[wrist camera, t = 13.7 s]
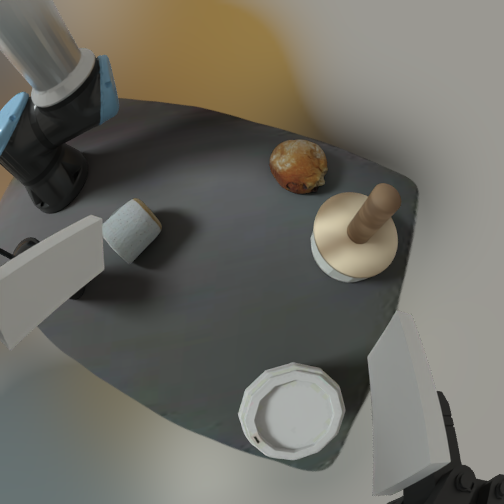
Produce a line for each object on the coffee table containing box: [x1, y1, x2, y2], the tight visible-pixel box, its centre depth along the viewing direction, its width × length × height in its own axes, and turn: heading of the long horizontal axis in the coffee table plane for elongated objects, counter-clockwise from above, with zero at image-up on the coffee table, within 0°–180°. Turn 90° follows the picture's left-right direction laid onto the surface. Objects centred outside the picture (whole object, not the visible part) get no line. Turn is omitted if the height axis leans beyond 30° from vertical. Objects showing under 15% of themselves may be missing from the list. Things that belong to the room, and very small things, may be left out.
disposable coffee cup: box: [238, 362, 346, 460], centre depth 29 cm, size 11×11×15 cm
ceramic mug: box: [102, 198, 162, 264], centre depth 41 cm, size 11×8×8 cm
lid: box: [313, 183, 401, 278], centre depth 33 cm, size 13×13×11 cm
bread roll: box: [270, 139, 328, 194], centre depth 46 cm, size 10×10×8 cm
